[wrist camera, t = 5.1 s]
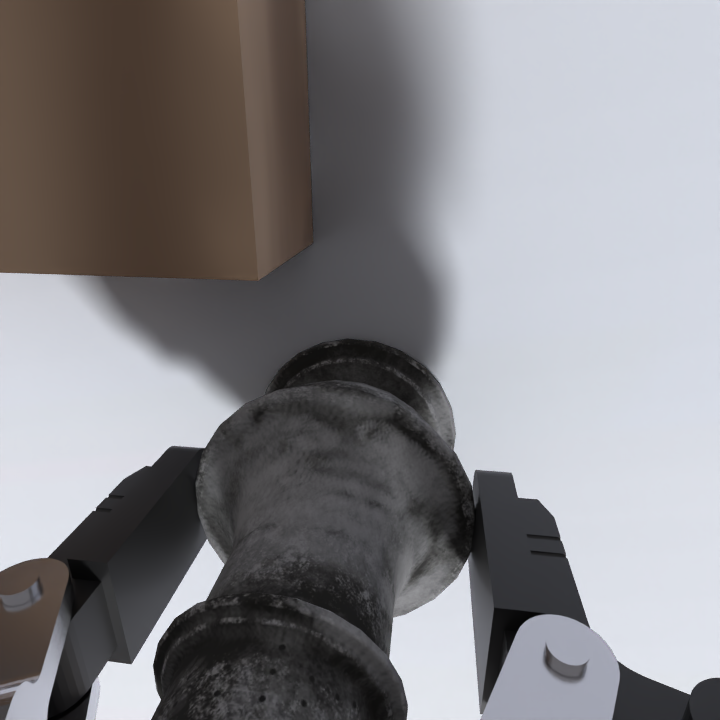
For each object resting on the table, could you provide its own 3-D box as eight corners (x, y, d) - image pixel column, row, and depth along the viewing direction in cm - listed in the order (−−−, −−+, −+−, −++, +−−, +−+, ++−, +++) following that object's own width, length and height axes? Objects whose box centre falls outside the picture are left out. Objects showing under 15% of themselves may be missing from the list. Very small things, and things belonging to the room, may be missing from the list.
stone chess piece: (467, 324, 12) (761, 1911, 1) (466, 523, 14) (567, 1753, 3) (235, 330, 13) (-835, 1246, 2) (266, 516, 15) (-180, 1459, 4)
